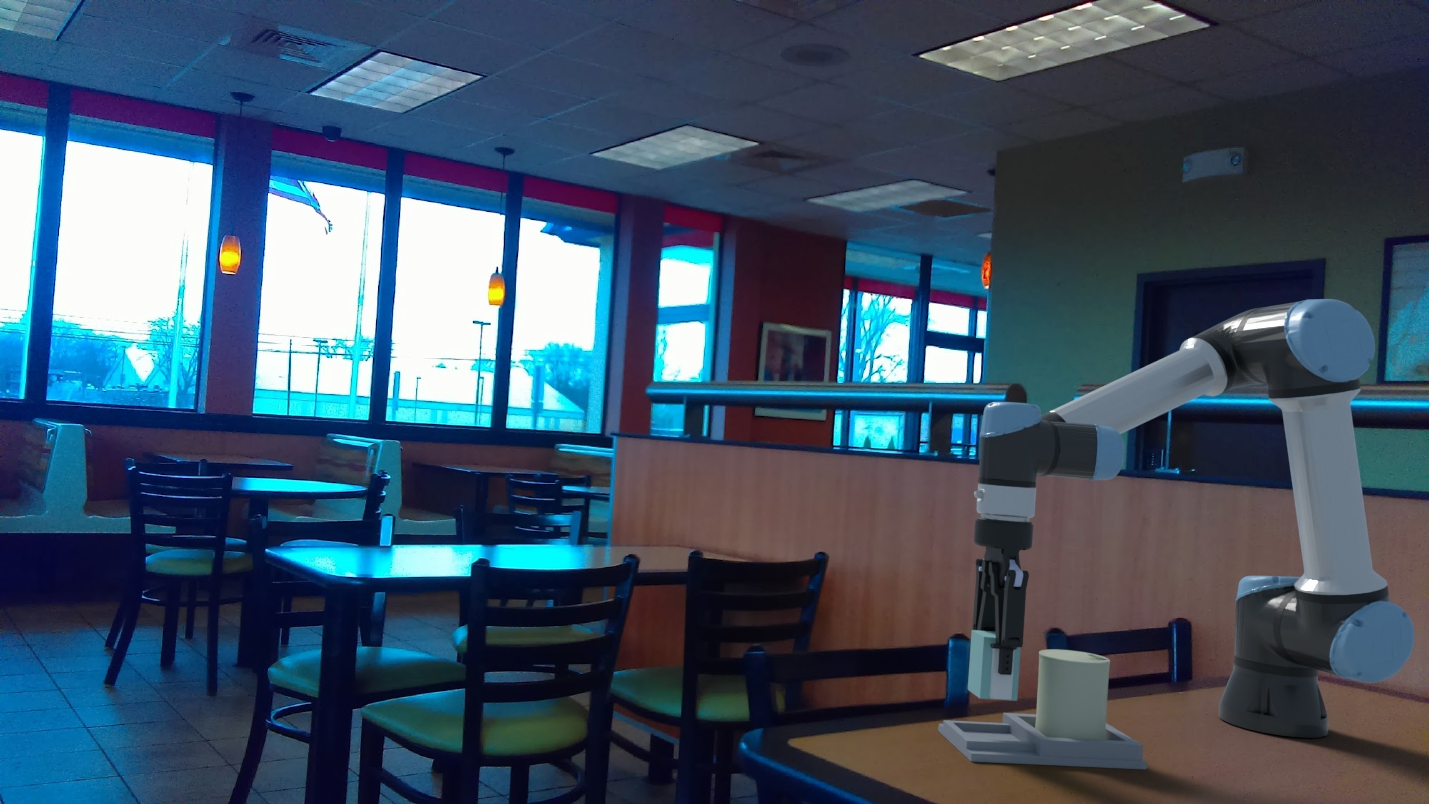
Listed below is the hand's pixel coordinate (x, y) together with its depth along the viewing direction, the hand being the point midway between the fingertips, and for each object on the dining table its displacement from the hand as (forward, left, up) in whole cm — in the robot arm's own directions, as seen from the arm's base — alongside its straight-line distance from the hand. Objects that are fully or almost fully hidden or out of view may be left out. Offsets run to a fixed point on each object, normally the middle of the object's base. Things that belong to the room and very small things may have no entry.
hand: (992, 692), depth 144 cm
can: (-11, 0, -6) cm, 13 cm away
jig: (-7, 0, -7) cm, 10 cm away
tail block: (0, 0, 0) cm, 0 cm away
